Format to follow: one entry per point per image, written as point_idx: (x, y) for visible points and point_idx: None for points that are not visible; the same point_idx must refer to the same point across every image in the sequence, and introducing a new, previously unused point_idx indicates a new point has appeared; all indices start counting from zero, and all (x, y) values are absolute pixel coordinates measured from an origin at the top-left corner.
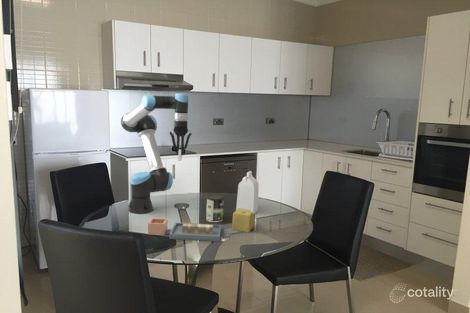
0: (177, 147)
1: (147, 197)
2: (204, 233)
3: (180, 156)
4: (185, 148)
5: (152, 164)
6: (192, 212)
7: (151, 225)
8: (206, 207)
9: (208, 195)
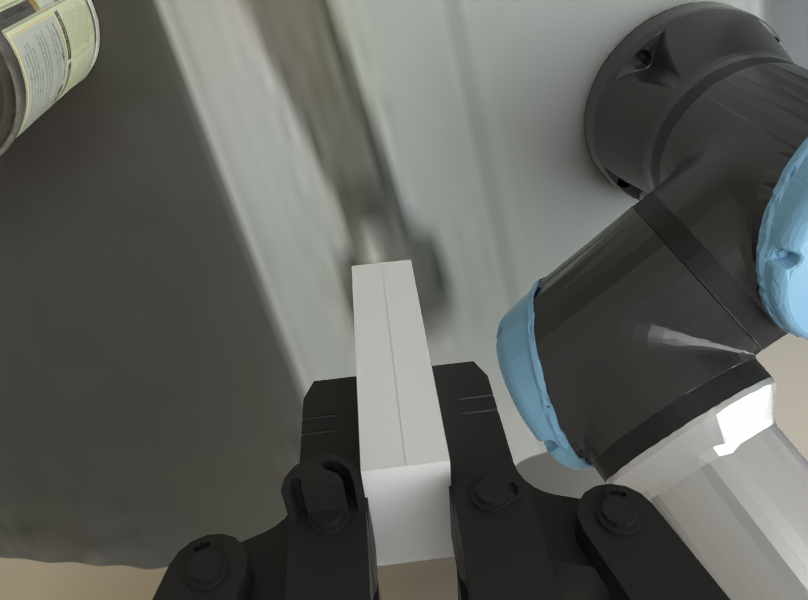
0: (508, 528)
1: (674, 113)
2: None
3: (365, 328)
4: (198, 547)
5: (790, 467)
6: (271, 158)
7: None
8: (50, 23)
9: (13, 113)
